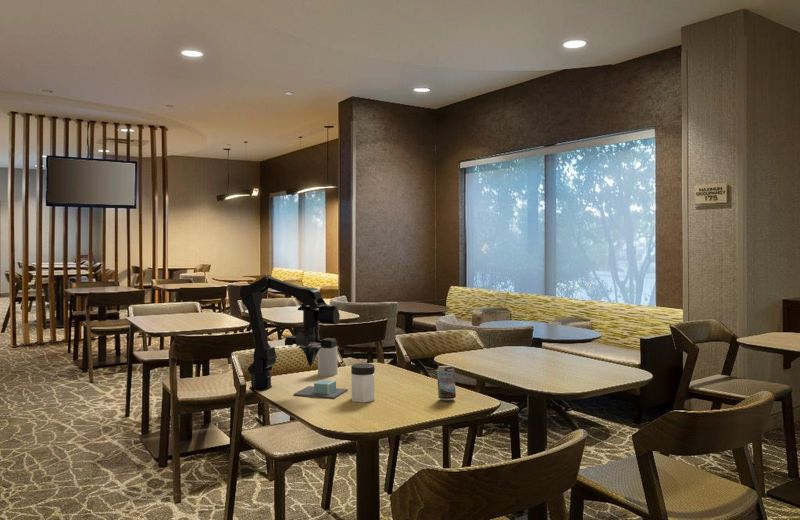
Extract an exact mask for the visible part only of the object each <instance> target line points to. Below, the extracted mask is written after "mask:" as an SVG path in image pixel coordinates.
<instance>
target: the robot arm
mask: <svg viewBox="0 0 800 520" xmlns="http://www.w3.org/2000/svg"><path fill="white" fill-rule="evenodd" d="M269 289H270V290H274V291H276V292H279V293H282V294H284V295H288V296H290V297H293V298H294V299H296V300H297V301H298V302H299V303H301V305H300V306H299V307H297V311H302V314H303V315H302V325H301V327H300V332H298V333H297V335H290V336H286V337H285V339H284V346H289V347H290V346H291V347H292V346H294V344H295V346H296V347H298V348H299V349H300V350H302V352H303V353H304V355H305V358H306V361H307V364H308V366H309V367H310V366H313V364H314V362H315V359H316V357H317V356H318V351H319V349H320V348H333V347H336V346H337V347H338V340H337V339H336V338H334V337H333V338H332V337H326V338H324V339H321V335H319V334H320V333H319V332H320V328H321V324H322V325H323V324H324V325H325V324H326V325H338V324H339V323H340V319H341V318H340V317H341V315H340V314H341V313H340V311H339V309H338V305H336V304H335V305H334V304H333V305H328V304H327V303H326V301H325V300H324V298H323V296H322V293H321V291H320V289H318V288H314V287H309V286H299V285H296V284H294V283H290V282H287V281H284V280H281V279H280V278H279V279H278V278H276V277H274V276H272V275H270V276H269V275H267V276H264V277H262V278H260V279H258V280H257V281H254V282H252V283H250V284H244V285H242V286H241V287H240V289H239V293H238V294H239V298H240V299H241V302H242V304H243V305H244V306H245V308H246V309H247V314H248V318H249V324H250V328H251V333H252V338H253V342H254V350H253V355H252V356H253V357H252V358H253V362H252V363H251V364H250V365H249V367H248V368H247V371H248V374H250V381H251V382H250V387H249V388H248V390H254V391H255V390H256V391H265V390H268V389H270V388H272V387H273V385H272V377H271V371H272V369H273V366H274V365H275V364H276V363H277V362H276V361H277V358H278V356H277V354H276V347H275V346H271V345H270V344H269V341H268V337H267V332H266V328H265V323H264V317H263V313H262V307H261V305H262V302H263V301H262V300H263V293H265V292H266V291H267V290H269ZM319 323H320V324H319Z"/></svg>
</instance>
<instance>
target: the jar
mask: <svg viewBox="0 0 800 520" xmlns="http://www.w3.org/2000/svg"><path fill="white" fill-rule="evenodd" d="M350 367H351V369H350V370H351V402H353V403H356V402H357V403H361V404H362V403H363V404H364V403H369V402H371V403H372V402H375V370H376V368H375V364H372V363H367V362H366V363H365V362H361V363H360V362H359V363H354V364H351V366H350Z"/></svg>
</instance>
